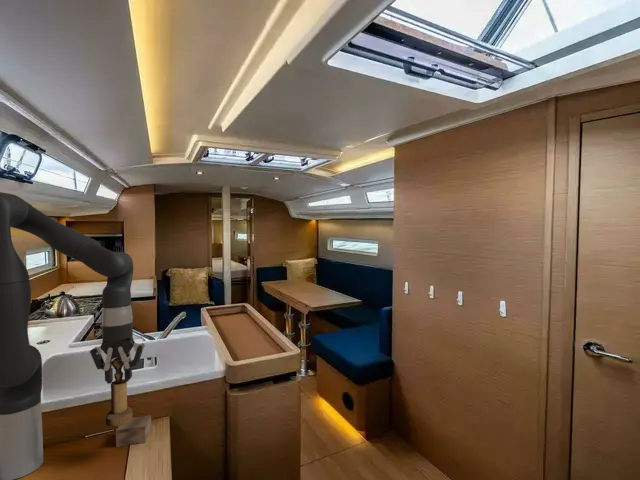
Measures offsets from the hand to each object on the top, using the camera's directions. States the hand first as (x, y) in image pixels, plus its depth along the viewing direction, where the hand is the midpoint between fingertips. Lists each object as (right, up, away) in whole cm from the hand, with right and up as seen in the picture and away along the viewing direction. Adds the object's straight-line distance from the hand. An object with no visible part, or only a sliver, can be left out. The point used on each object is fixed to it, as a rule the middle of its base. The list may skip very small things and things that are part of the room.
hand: (118, 381), depth 96 cm
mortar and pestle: (0, -12, 0) cm, 12 cm away
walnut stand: (0, -21, +8) cm, 23 cm away
